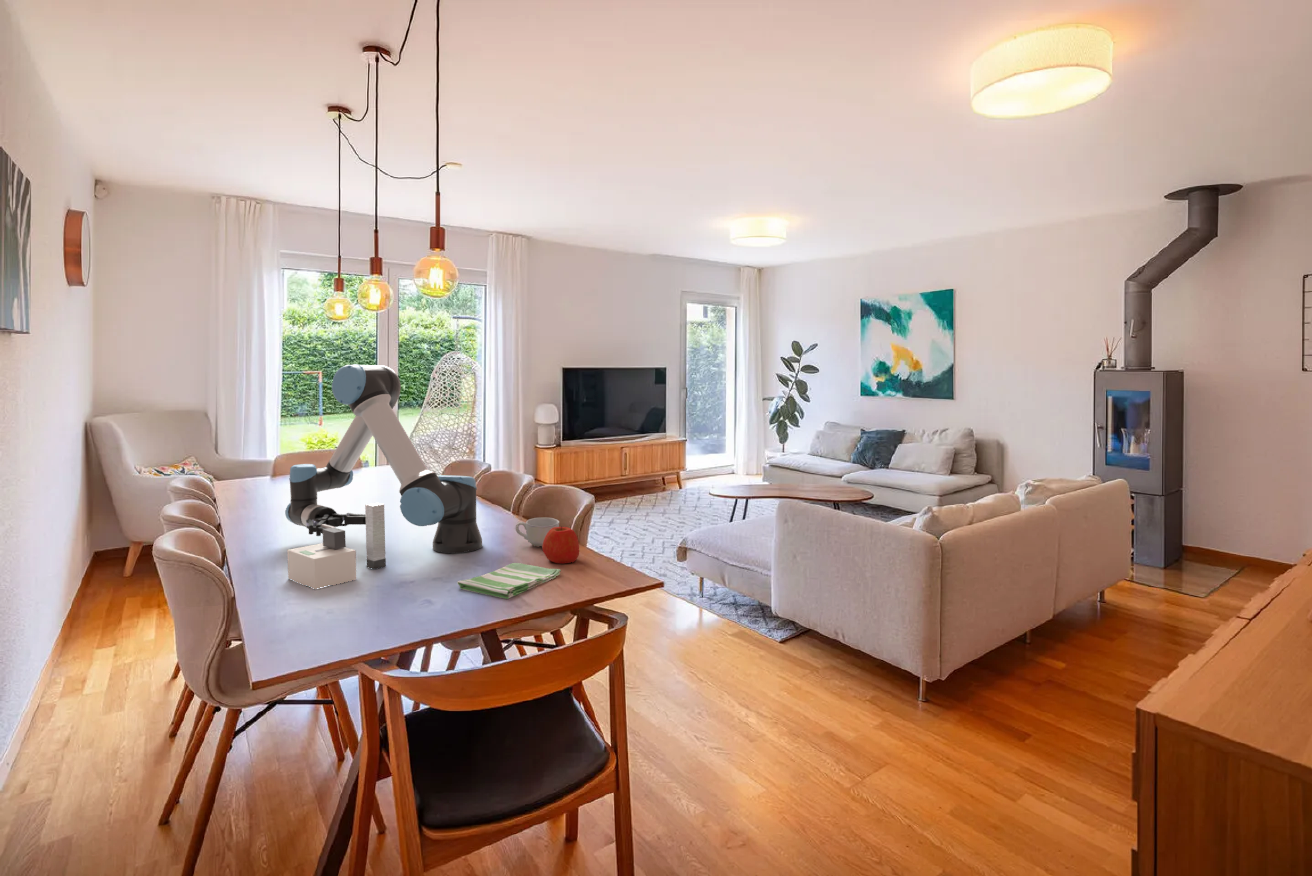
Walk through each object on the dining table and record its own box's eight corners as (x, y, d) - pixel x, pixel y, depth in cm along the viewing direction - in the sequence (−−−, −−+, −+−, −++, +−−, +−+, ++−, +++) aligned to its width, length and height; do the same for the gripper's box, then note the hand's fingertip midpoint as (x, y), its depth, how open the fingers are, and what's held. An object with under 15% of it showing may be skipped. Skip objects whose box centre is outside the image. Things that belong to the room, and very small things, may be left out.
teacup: (562, 541, 224) (562, 517, 224) (554, 550, 214) (554, 525, 213) (521, 540, 226) (521, 516, 225) (511, 548, 215) (511, 523, 214)
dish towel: (563, 577, 187) (563, 567, 187) (509, 601, 166) (509, 590, 166) (511, 568, 195) (511, 558, 195) (453, 590, 174) (453, 580, 174)
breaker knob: (333, 543, 185) (333, 527, 184) (345, 547, 181) (345, 530, 181) (323, 545, 182) (322, 529, 182) (334, 549, 179) (334, 532, 178)
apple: (535, 563, 199) (535, 527, 198) (557, 554, 208) (557, 520, 207) (565, 568, 194) (565, 532, 193) (586, 559, 203) (586, 524, 202)
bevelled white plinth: (328, 570, 188) (328, 541, 188) (356, 579, 180) (355, 550, 179) (288, 579, 179) (287, 549, 179) (315, 589, 171) (314, 558, 170)
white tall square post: (378, 564, 195) (377, 502, 193) (385, 566, 193) (384, 504, 191) (366, 567, 192) (365, 504, 190) (373, 569, 190) (372, 506, 188)
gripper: (358, 523, 220) (396, 533, 207) (278, 537, 200) (315, 549, 187) (357, 500, 219) (395, 508, 206) (277, 512, 199) (314, 522, 186)
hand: (357, 528), depth 197 cm, fingers open, 13 cm apart
